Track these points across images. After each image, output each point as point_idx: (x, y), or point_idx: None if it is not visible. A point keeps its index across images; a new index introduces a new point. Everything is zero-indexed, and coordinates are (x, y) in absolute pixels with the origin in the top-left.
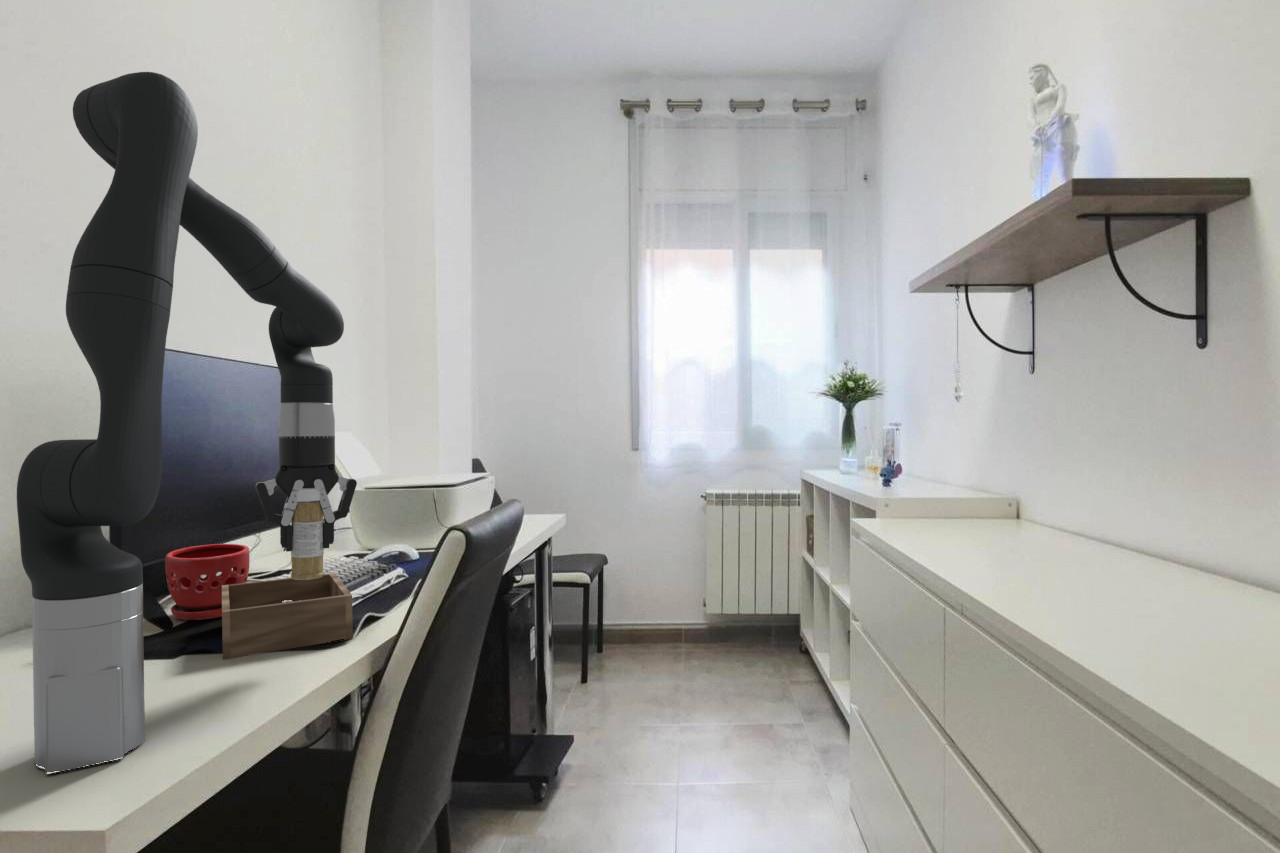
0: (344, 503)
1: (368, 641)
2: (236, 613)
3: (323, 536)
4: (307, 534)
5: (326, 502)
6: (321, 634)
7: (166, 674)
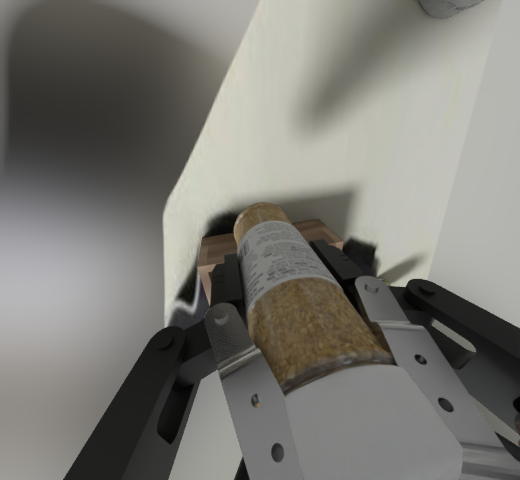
0: (143, 403)
1: (183, 221)
2: (327, 241)
3: (241, 277)
4: (289, 250)
5: (241, 386)
6: (234, 237)
7: (361, 196)
